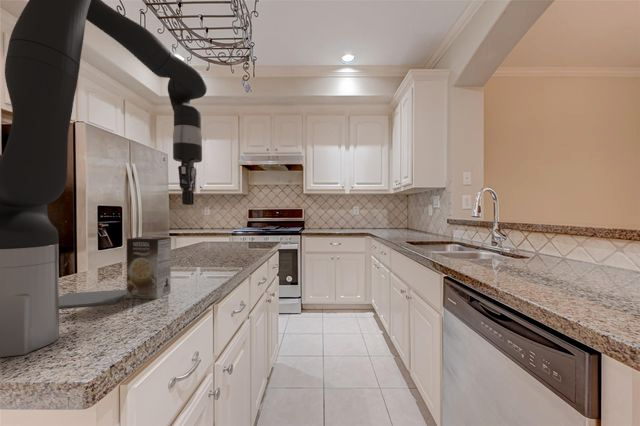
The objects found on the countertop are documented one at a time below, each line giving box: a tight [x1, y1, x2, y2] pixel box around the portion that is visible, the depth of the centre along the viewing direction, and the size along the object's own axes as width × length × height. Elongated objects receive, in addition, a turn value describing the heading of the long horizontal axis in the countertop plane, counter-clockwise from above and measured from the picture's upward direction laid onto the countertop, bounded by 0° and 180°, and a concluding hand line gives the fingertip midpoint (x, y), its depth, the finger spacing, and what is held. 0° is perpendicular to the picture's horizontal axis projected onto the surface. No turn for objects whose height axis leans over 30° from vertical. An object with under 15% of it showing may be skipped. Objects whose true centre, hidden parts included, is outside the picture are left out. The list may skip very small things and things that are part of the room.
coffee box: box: [126, 235, 172, 300], centre depth 78 cm, size 9×6×16 cm
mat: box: [59, 288, 127, 309], centre depth 75 cm, size 12×16×1 cm
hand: (188, 204), depth 81 cm, fingers open, 3 cm apart
